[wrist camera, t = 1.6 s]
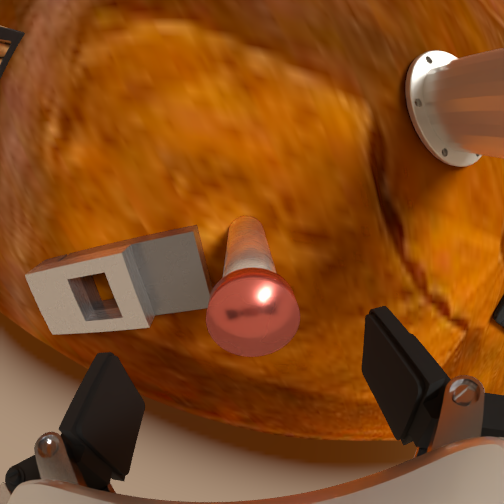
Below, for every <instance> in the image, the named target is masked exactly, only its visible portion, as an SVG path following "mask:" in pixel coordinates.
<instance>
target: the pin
mask: <svg viewBox="0 0 504 504" xmlns="http://www.w3.org/2000/svg"><path fill="white" fill-rule="evenodd" d="M299 322H300V311H299V307H298V304H297V302H296V299H295V296H294V293H293V291H292V289H291V287H290V285H289V284H288V283H287V281H286V280H285V279H284V278H282V277H281V276H280V275H278V274H276V270H275V267H274V263H273V260H272V256H271V253H270V250H269V246H268V243H267V240H266V236H265V233H264V229H263V226H262V224H261V223H260V222H259V221H258V220H257V219H256V218H254V217H251V216H241V217H239V218H237V219H235V220H234V221H233V222H232V223H231V225H230V228H229V233H228V240H227V248H226V256H225V264H224V272H223V278H222V279H221V280H220V281H218V283H217V284H216V285H215V286H214V288H213V290H212V292H211V294H210V298H209V303H208V308H207V313H206V325H207V329H208V331H209V334H210V335H211V337H212V339H213V340H214V341H215V342H216V343H217V344H218V345H219V346H220V347H222V348H223V349H225V350H226V351H228V352H231V353H233V354H236V355H240V356H247V357H256V356H263V355H267V354H270V353H273V352H275V351H277V350H279V349H281V348H282V347H284V346H285V345H286V344H287V343H288V342H289V341H290V340H291V339H292V338H293V337H294V335H295V333H296V331H297V329H298V326H299Z"/></svg>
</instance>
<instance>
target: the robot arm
mask: <svg viewBox="0 0 504 504" xmlns="http://www.w3.org/2000/svg"><path fill="white" fill-rule="evenodd" d="M405 95H406V101H407V107H408V111H409V115H410V118H411V121H412V123H413V126H414V128H415V130H416V132H417V134H418V136H419V138H420V139H421V141H422V142H423V144H424V145H425V146H426V148H427V149H428V150H429V151H430V152H431V153H432V154H433V155H434V156H435V157H436V158H437V159H439V160H440V161H442V162H444V163H446V164H449V165H452V166H458V167H466V166H469V165H472V164H474V163H475V162H476V161H478V160H479V158H480V157H481V156H482V155H486V156H492V157H498V158H504V48H501V49H497V50H492V51H487V52H483V53H479V54H474V55H470V56H466V57H463V58H459V59H458V58H456V57H455V56H453V55H452V54H449V53H447V52H444V51H438V50H434V51H428V52H426V53H423V54H421V55H420V56H418V57H417V58H415V60H414V61H413V62H412V64H411V65H410V67H409V70H408V72H407V77H406V83H405ZM362 373H363V375H364V377H365V379H366V381H367V383H368V385H369V387H370V389H371V391H372V393H373V395H374V397H375V399H376V401H377V403H378V404H379V406H380V408H381V410H382V412H383V414H384V416H385V418H386V420H387V422H388V424H389V426H390V428H391V430H392V433H393V435H394V437H395V438H396V439H397V440H400V439H401V441H402V443H403V445H406V444H408V443H410V442H412V441H413V442H414V443H415V445H416V447H417V450H416V453H415V456H414V458H413V459H411V460H408V461H406V462H404V463H401V464H399V465H396V466H394V467H391V468H389V469H386V470H383V471H381V472H378V473H375V474H372V475H369V476H366V477H363V478H360V479H357V480H354V481H350V482H347V483H343V484H340V485H336V486H332V487H328V488H325V489H320V490H316V491H311V492H307V493H301V494H296V495H290V496H284V497H277V498H270V499H262V500H252V501H238V502H209V503H208V502H179V501H165V500H155V499H147V498H139V497H132V496H127V495H121V494H116V492H115V491H114V489H113V487H112V485H111V484H110V479H111V478H112V479H114V480H120V481H124V479H125V475H127V474H128V473H129V470H130V465H131V461H132V457H133V452H134V449H135V444H136V440H137V436H138V432H139V429H140V425H141V421H142V417H143V414H144V410H145V403H144V401H143V399H142V397H141V396H140V394H139V393H138V391H137V389H136V388H135V386H134V385H133V383H132V381H131V380H130V378H129V376H128V374H127V373H126V371H125V369H124V367H123V366H122V364H121V362H120V360H119V358H118V357H117V356H114V354H113V353H110V352H109V353H98V354H97V355H96V357H95V359H94V361H93V362H92V364H91V366H90V368H89V370H88V371H87V373H86V375H85V377H84V379H83V381H82V383H81V384H80V386H79V388H78V390H77V392H76V394H75V396H74V398H73V400H72V402H71V404H70V406H69V408H68V410H67V412H66V414H65V416H64V418H63V421H62V423H61V425H60V427H59V430H60V431H61V432H62V434H61V436H60V435H59V434H58V433H55V432H48V433H45V434H43V435H42V436H41V437H40V438H39V439H38V440H37V442H36V443H35V447H34V451H35V455H34V456H32V457H30V458H28V459H26V460H24V461H22V462H20V463H18V464H16V465H14V466H12V467H11V468H10V469H9V470H8V471H7V474H6V478H5V482H6V484H5V483H4V482H3V483H2V484H1V485H0V504H504V395H496V394H490V393H484V388H483V386H482V384H481V382H480V381H479V380H478V379H476V378H474V377H472V376H467V375H461V376H457V377H455V378H453V379H452V380H451V379H450V378H449V377H448V376H447V374H446V373H445V372H444V371H443V369H442V368H441V367H440V366H439V364H438V363H437V362H436V361H435V360H434V358H433V357H432V356H431V355H430V353H429V352H428V351H427V350H426V349H425V347H424V346H423V345H422V344H421V343H420V342H419V340H418V339H417V338H416V337H415V336H414V335H413V334H410V333H409V332H408V331H407V329H406V328H405V327H404V326H403V325H402V324H401V323H400V321H399V320H398V319H397V318H396V317H395V316H394V315H393V313H392V312H391V311H390V310H389V309H388V308H387V307H386V306H382V307H378V308H375V309H371V310H370V312H369V314H368V315H366V317H365V333H364V347H363V359H362Z"/></svg>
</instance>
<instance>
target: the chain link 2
mask: <svg viewBox="0 0 504 504" xmlns="http://www.w3.org/2000/svg"><path fill="white" fill-rule="evenodd" d="M126 245H131V247H132V250H133V254H134V257H135V260H136V263H137V266H138V269H139V272H140V275H141V278H142V281H143V284H144V286H145V289H146V292H147V295H148V298H149V300H150V303H151V306H152V308H153V311H154V313H155V315H161V314H168V313H176V312H183V311H191V310H198V309H204V308H208V303H209V298H210V294H211V292H212V290H213V287H212V283H211V280H210V276H209V272H208V268H207V264H206V260H205V256H204V252H203V248H202V244H201V240H200V236H199V232H198V227H197V225H194V226H189V227H184V228H179V229H174V230H170V231H165V232H160V233H156V234H151V235H146V236H142V237H137V238H133V239H128V240H124V241H120V242H115V243H111V244H107V245H103V246H98V247H94V248H90V249H86V250H82V251H78V252H74V253H70V254H69V255H67V256H66V257H65V258H63V259H62V260H66V259H70V258H74V257H78V256H82V255H87V254H91V253H95V252H99V251H104V250H108V249H113V248H117V247H121V246H126ZM62 260H61V261H62ZM80 278H81V281H82V283H83V286H84V288H85V291H86V293H87V296H88V298H89V300H90V303H91V305H92V307H93V309H94V310H102V309H110V308H119V307H118V305H117V303H116V300H115V299H110V300H103V301H102V300H101V298H100V295H99V293H98V291H97V288H96V286H95V283H94V280H93V278H92V275H88V276H83V277H80Z"/></svg>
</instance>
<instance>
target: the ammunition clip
mask: <svg viewBox="0 0 504 504" xmlns="http://www.w3.org/2000/svg"><path fill="white" fill-rule="evenodd" d="M24 34H25V33H24V32H20V31H17V30H13V29H9V28H7V27H4V26H0V41H2V42H5V43H2V42H0V78H1V76H2V74H3V72H4V70H5V68H6V66H7V64H8V62H9V60H10V58H11V56H12V55H13V53H14V51H15V49H16V47H17V46H18V44H19V42H20V41H21V39H22V37H23V36H24Z"/></svg>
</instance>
